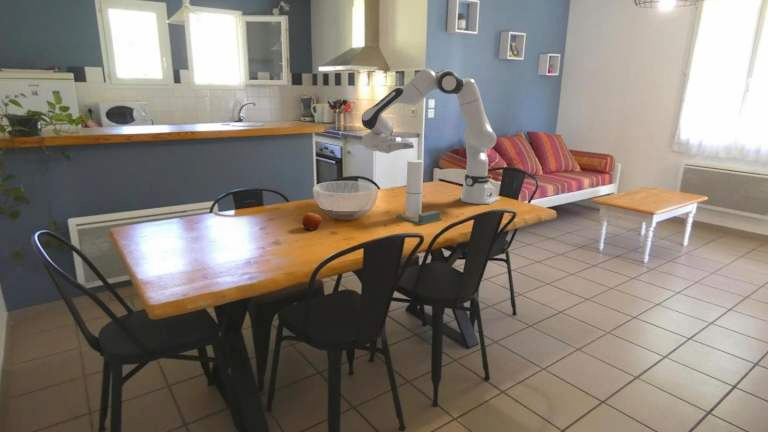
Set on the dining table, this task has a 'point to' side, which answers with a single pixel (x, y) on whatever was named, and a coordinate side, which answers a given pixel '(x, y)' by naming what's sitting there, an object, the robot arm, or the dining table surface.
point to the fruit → (311, 221)
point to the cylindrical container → (414, 187)
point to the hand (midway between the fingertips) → (405, 147)
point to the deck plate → (422, 217)
